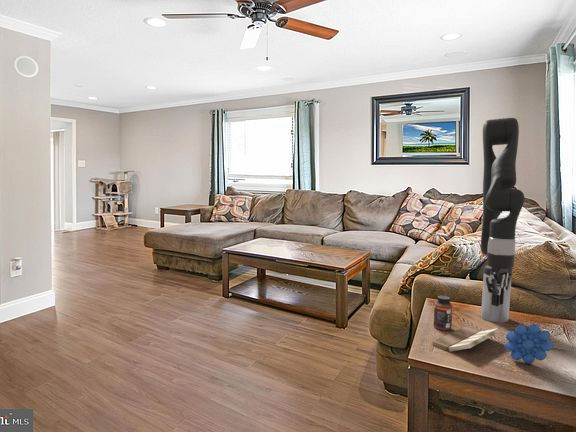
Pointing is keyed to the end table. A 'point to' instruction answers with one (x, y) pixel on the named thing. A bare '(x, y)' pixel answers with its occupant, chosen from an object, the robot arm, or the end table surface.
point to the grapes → (528, 343)
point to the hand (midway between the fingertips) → (497, 304)
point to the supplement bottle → (443, 313)
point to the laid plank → (454, 337)
